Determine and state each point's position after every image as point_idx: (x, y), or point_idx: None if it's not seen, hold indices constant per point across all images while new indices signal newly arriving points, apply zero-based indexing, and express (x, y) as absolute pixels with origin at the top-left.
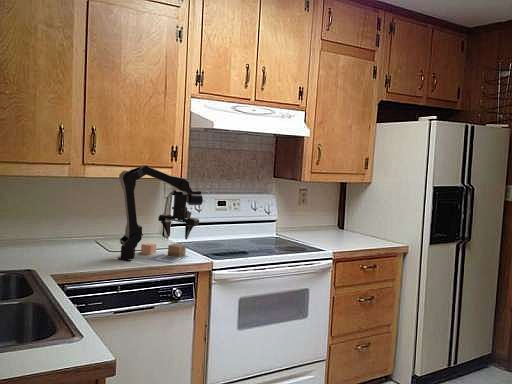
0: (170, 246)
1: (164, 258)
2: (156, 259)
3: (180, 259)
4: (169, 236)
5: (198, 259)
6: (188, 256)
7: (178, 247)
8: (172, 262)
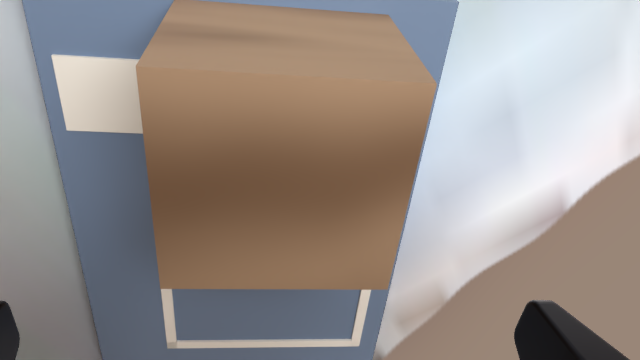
0: (207, 280)
1: (227, 290)
2: (185, 352)
3: (401, 237)
4: (9, 307)
5: (596, 17)
6: (450, 36)
7: (361, 283)
8: (369, 355)
